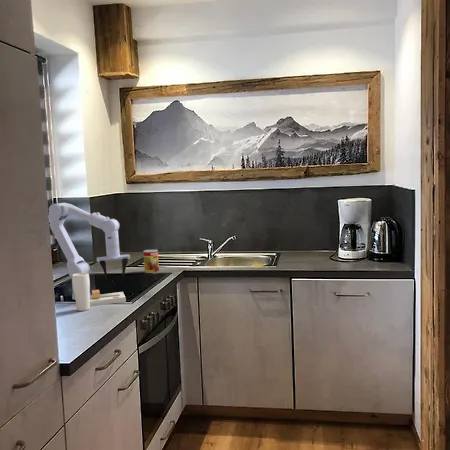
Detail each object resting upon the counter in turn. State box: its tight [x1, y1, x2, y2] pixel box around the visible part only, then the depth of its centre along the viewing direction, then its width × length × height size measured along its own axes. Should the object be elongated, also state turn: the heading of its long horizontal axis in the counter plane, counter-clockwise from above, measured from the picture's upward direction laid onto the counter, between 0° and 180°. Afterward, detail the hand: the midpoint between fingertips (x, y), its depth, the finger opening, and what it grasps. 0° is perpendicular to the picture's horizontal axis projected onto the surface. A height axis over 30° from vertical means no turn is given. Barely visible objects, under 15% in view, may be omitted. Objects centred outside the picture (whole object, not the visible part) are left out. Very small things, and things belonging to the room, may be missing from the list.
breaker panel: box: [90, 291, 127, 307], centre depth 235 cm, size 11×16×2 cm
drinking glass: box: [71, 273, 91, 312], centre depth 222 cm, size 7×7×15 cm
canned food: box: [142, 249, 160, 273], centre depth 295 cm, size 8×8×12 cm
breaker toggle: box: [91, 289, 101, 299], centre depth 234 cm, size 5×3×3 cm, turn 17°
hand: (114, 276), depth 241 cm, fingers open, 7 cm apart
